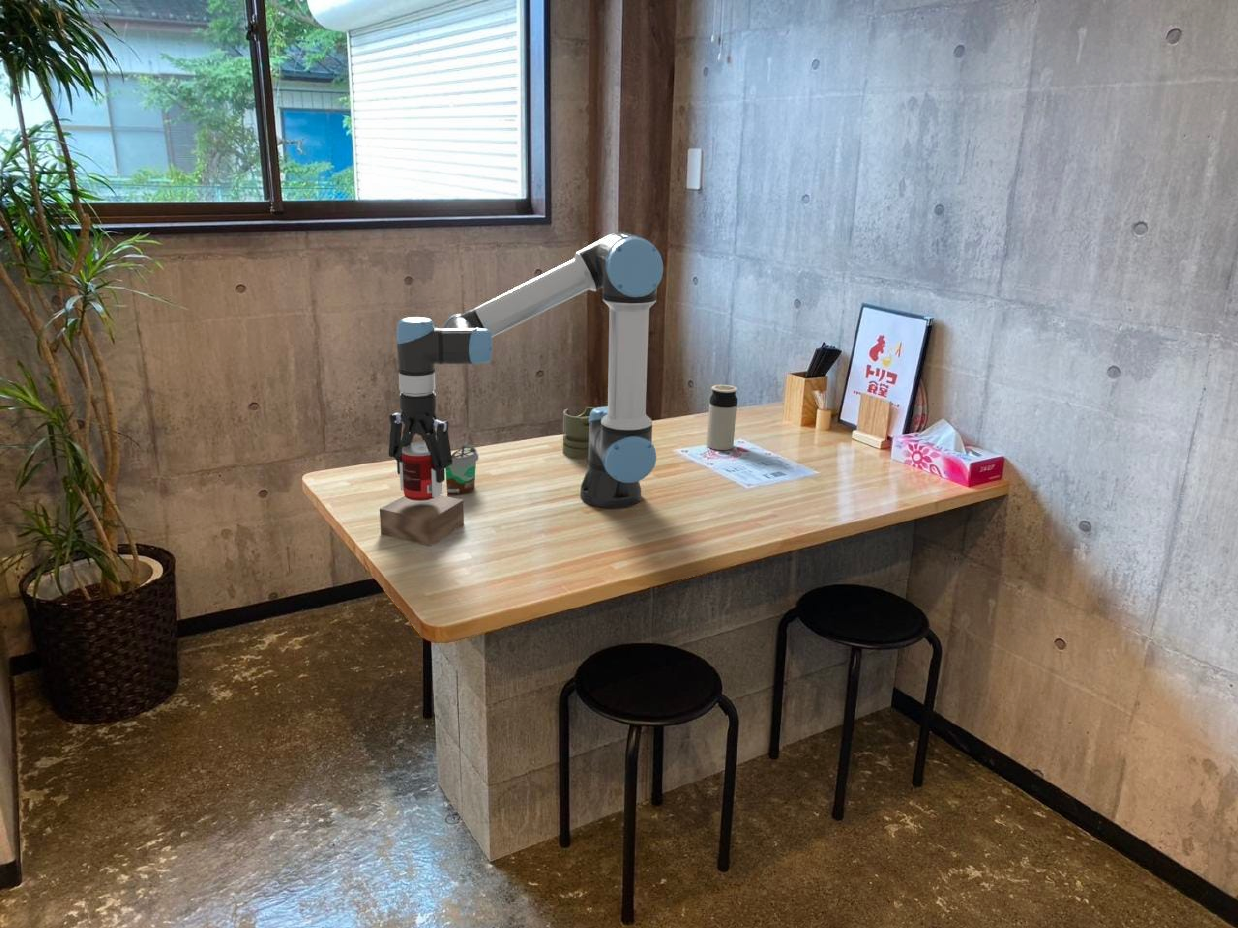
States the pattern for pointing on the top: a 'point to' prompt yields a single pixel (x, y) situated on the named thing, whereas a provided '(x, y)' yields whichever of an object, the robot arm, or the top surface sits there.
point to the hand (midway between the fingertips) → (421, 491)
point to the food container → (462, 471)
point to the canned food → (417, 471)
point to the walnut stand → (422, 518)
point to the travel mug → (722, 417)
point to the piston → (576, 434)
